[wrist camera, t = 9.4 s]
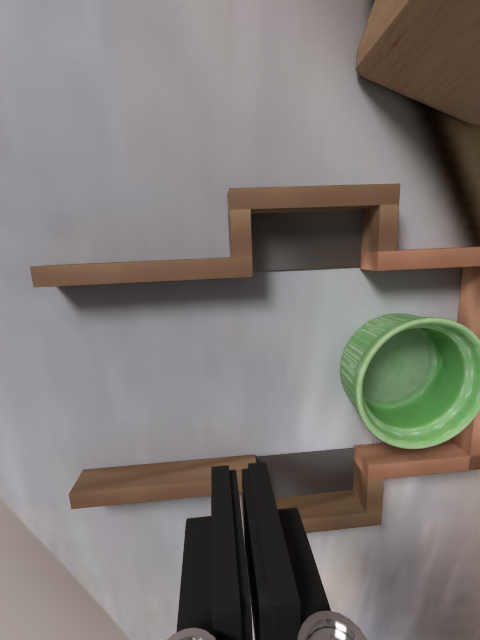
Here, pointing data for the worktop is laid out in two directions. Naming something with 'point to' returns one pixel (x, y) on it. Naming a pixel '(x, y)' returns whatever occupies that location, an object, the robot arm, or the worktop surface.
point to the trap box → (285, 254)
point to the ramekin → (413, 378)
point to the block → (426, 53)
